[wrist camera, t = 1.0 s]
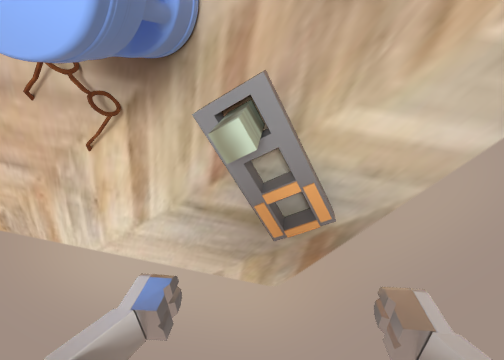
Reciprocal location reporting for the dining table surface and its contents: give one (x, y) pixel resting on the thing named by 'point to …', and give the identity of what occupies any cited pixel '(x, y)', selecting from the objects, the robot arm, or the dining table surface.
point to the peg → (238, 132)
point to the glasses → (90, 94)
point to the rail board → (271, 138)
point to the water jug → (94, 28)
